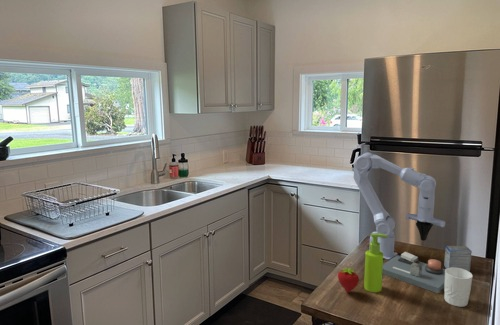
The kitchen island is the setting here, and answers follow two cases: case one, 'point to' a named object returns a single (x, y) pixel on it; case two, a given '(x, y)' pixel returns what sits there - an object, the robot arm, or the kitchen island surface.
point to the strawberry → (348, 279)
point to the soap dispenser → (374, 265)
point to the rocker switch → (409, 257)
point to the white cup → (457, 286)
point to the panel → (426, 280)
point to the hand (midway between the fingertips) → (423, 239)
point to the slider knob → (416, 269)
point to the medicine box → (457, 257)
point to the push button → (434, 264)
